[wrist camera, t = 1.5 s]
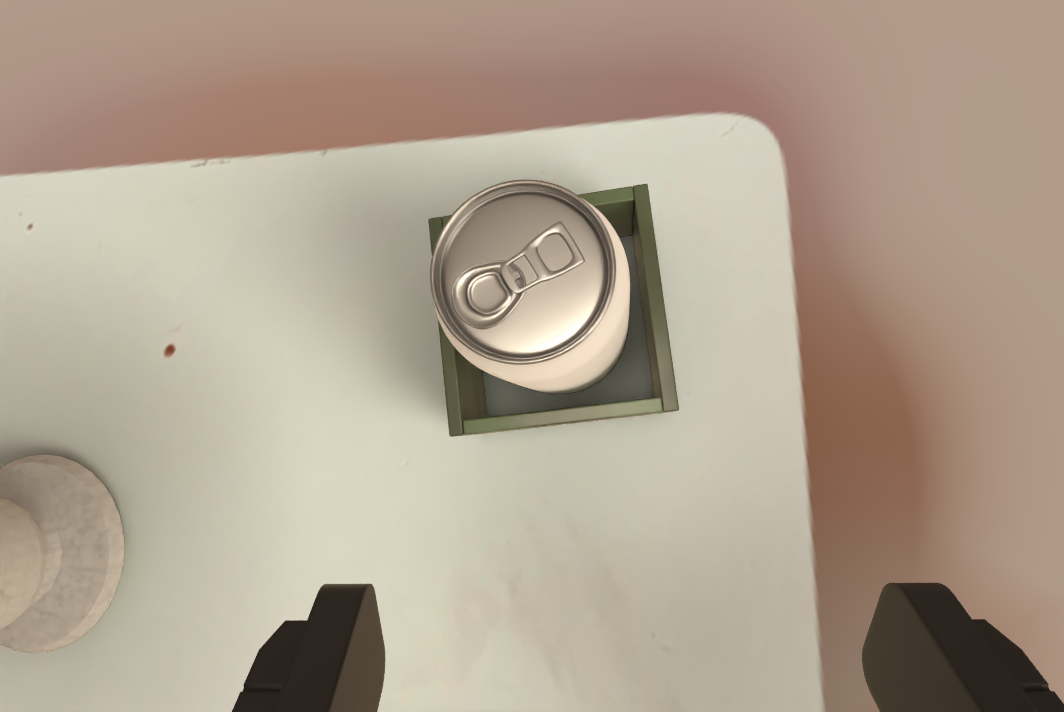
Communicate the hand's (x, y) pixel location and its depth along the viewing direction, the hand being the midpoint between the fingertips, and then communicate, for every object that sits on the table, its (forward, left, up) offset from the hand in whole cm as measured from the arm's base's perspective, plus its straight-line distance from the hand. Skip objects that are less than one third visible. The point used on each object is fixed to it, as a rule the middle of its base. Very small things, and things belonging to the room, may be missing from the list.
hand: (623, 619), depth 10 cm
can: (+2, -8, -20) cm, 22 cm away
